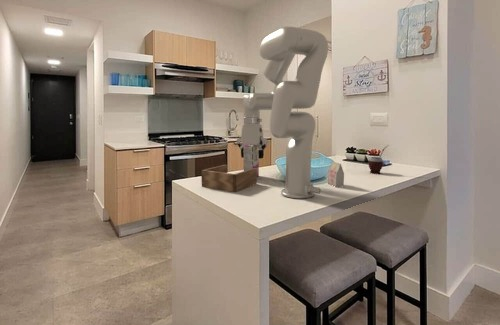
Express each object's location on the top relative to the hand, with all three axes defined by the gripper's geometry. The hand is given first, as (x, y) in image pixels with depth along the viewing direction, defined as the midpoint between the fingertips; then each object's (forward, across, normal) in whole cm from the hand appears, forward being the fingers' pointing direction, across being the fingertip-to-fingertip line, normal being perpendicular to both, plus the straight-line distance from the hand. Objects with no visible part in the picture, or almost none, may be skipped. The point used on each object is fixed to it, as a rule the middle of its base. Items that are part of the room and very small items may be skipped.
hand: (252, 157), depth 146 cm
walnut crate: (+10, +1, +18) cm, 20 cm away
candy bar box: (+10, +1, 0) cm, 10 cm away
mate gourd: (+11, -48, -46) cm, 67 cm away
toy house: (+11, -38, -8) cm, 40 cm away
